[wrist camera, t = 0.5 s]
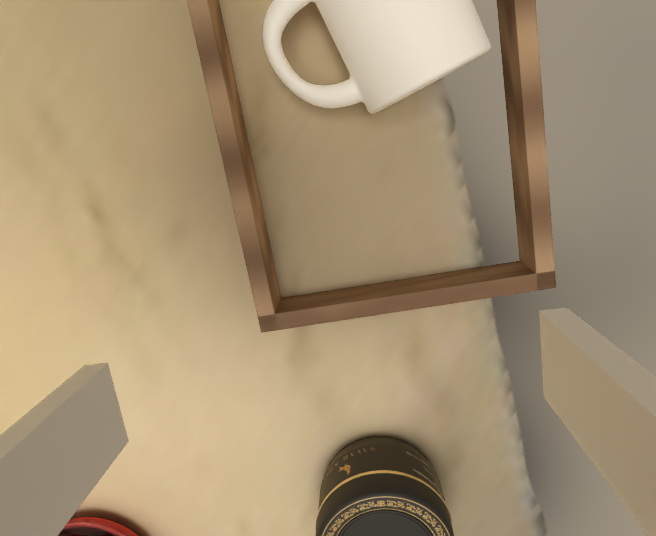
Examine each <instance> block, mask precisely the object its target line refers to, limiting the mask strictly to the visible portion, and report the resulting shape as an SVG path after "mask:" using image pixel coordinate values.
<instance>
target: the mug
mask: <svg viewBox="0 0 656 536" xmlns="http://www.w3.org/2000/svg"><path fill="white" fill-rule="evenodd" d="M310 2H314V3H315V4H316V5H317V7H318V9H319V11H320V13H321V16H322V18H323V20H324V22H325V24H326V26H327V28H328V30H329V32H330V34H331V36H332V38H333V40H334V42H335V44H336V46H337V49H338V51H339V53H340V55H341V57H342V59H343V61H344V63H345V65H346V67H347V69H348V71H349V73H350V77H349V79H348V80H346V81H343V82H340V83H336V84H332V85H315V84H311V83H308V82H306V81H305V80H303V79H302V78H301V77H300V76H299V75H298V74H297V73H296V72H295V71H294V70H293V68H292V67H291V66H290V64H289V62H288V61H287V59H286V57H285V55H284V52H283V49H282V44H281V37H282V33H283V30H284V28H285V26H286V25H287V23H288V22H289V21H290V19H291V18H292V17H293V16H294V15H295V14H296V13H297V12H298V11H299V10H301V9H302V8H303V7H304V6H306V5H307V4H308V3H310ZM263 44H264V48H265V52H266V55H267V57H268V60H269V62H270V64H271V66H272V68H273V69H274V71H275V72H276V74H277V75H278V77H279V78H280V79H281V81H282V82H283V83H284V84H285V85H286V86H287V87H288V88H289V89H290V90H291V91H292V92H293V93H294V94H295V95H297V96H298V97H299V98H301V99H302V100H304V101H306V102H308V103H310V104H312V105H315V106H318V107H322V108H342V107H347V106H350V105H354V104H356V103H359V102H362V103H364V104H365V106H366V108H367V110H368V112H369V113H370V114H375V113H377V112H379V111H381V110H383V109H385V108H387V107H389V106H391V105H393V104H394V103H396V102H398V101H400V100H402V99H404V98H406V97H408V96H409V95H411V94H413V93H415V92H417V91H419V90H421V89H422V88H424V87H426V86H428V85H430V84H432V83H433V82H435V81H437V80H439V79H441V78H443V77H444V76H446V75H448V74H450V73H452V72H454V71H455V70H457V69H459V68H461V67H462V66H464V65H466V64H468V63H470V62H471V61H473V60H475V59H477V58H479V57H480V56H482V55H484V54H485V53H487V52H488V51H489V50H490V49H491V44H490V42H489V39H488V37H487V35H486V32H485V30H484V28H483V25H482V23H481V21H480V18H479V16H478V13H477V11H476V9H475V6H474V4H473V1H472V0H273V2H272V3H271V5H270V7H269V8H268V11H267V13H266V16H265V19H264V23H263Z"/></svg>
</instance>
